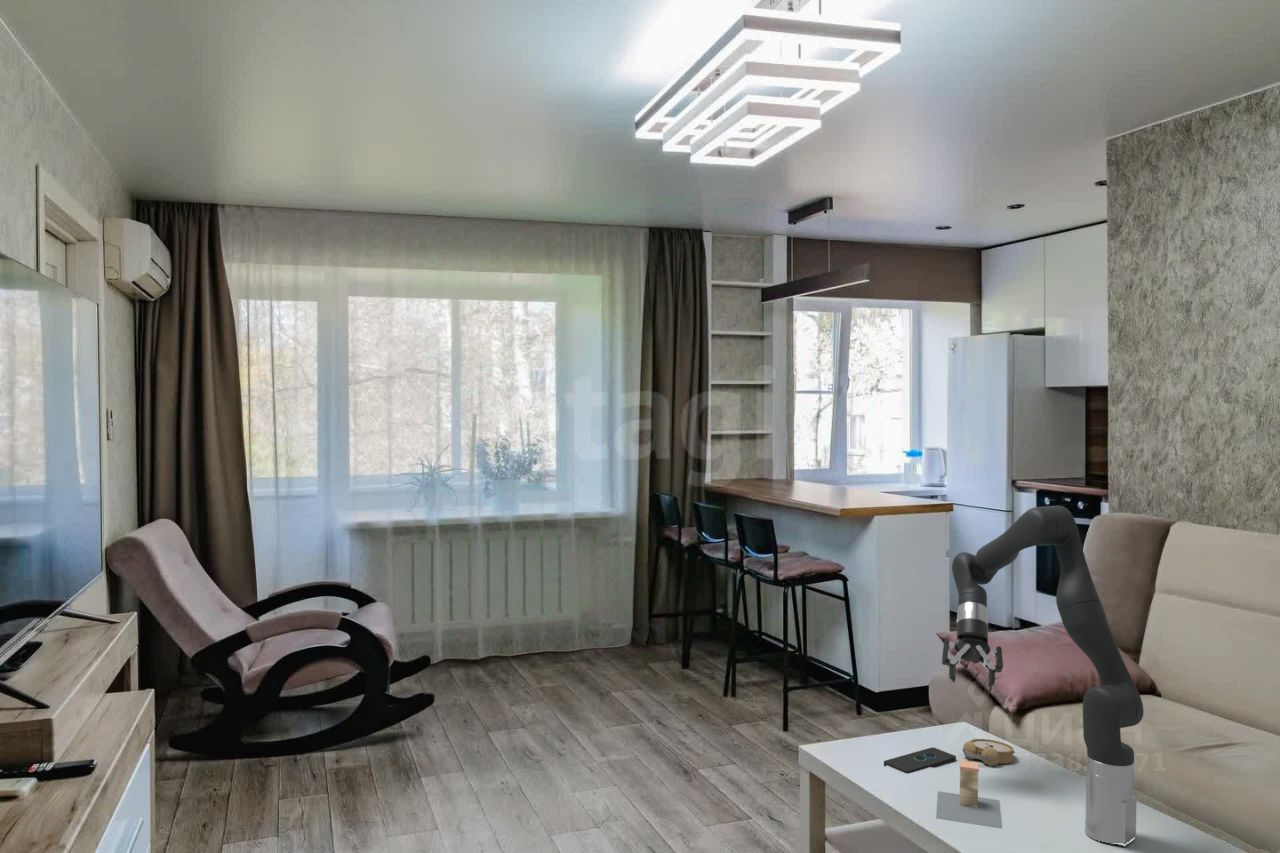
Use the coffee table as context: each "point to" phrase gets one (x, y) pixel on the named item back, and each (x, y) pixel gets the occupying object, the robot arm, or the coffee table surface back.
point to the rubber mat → (968, 810)
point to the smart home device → (920, 760)
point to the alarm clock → (988, 751)
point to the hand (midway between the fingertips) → (971, 683)
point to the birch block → (969, 783)
